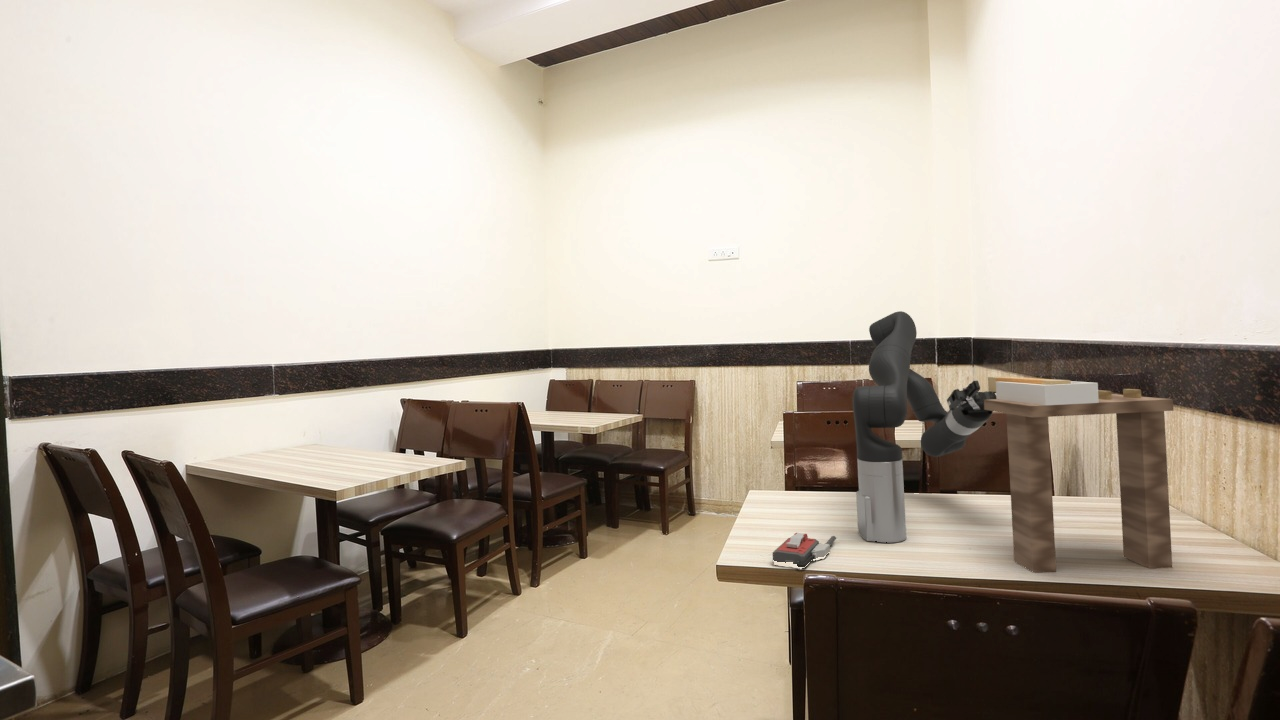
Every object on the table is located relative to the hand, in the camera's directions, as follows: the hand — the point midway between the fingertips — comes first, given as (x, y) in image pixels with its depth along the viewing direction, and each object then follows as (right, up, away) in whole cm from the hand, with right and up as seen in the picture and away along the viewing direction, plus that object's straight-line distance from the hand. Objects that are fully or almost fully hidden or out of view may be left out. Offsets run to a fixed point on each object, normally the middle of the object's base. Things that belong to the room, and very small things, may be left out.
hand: (998, 383), depth 130 cm
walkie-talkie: (-42, -36, -5) cm, 56 cm away
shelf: (+6, -32, -16) cm, 37 cm away
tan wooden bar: (0, -2, -10) cm, 10 cm away
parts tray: (-1, -3, -16) cm, 16 cm away
